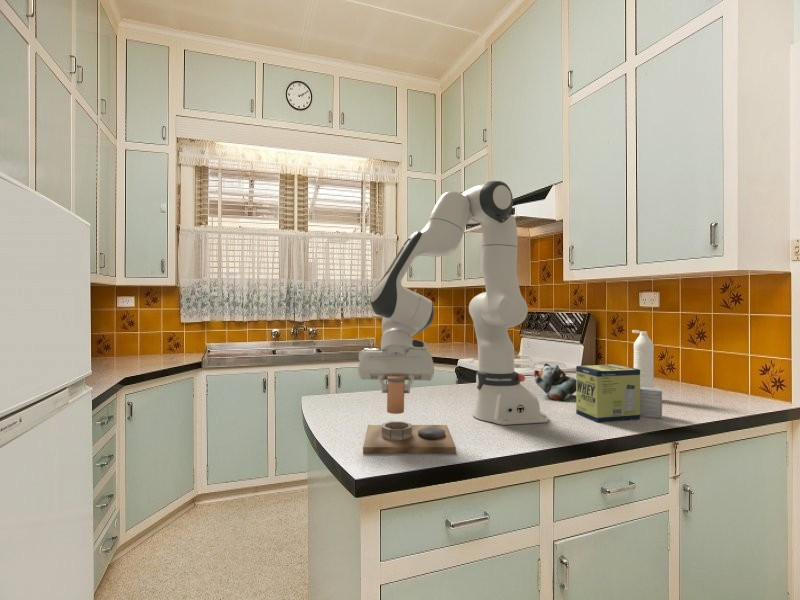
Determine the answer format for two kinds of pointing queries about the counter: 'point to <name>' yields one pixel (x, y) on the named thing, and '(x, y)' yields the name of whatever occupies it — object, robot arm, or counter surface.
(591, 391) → the protein box
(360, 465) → the counter surface
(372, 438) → the carrier board
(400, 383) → the hub peg
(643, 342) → the white pump bottle
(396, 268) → the robot arm
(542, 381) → the grey stuffed animal toy
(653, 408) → the medicine box
